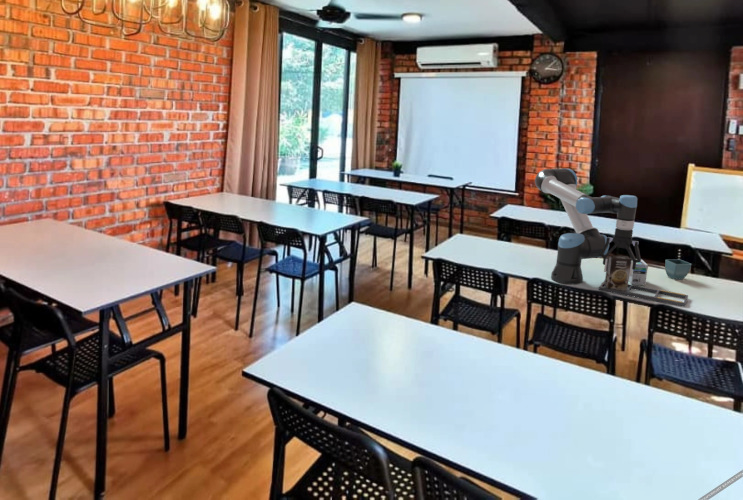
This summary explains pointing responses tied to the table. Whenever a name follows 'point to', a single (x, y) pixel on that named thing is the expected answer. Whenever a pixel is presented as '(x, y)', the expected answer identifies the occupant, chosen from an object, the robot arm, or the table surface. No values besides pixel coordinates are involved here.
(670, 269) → the flower pot
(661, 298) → the gray sectioned tray
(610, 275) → the brown cardboard box
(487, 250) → the table surface
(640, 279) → the light bulb box
